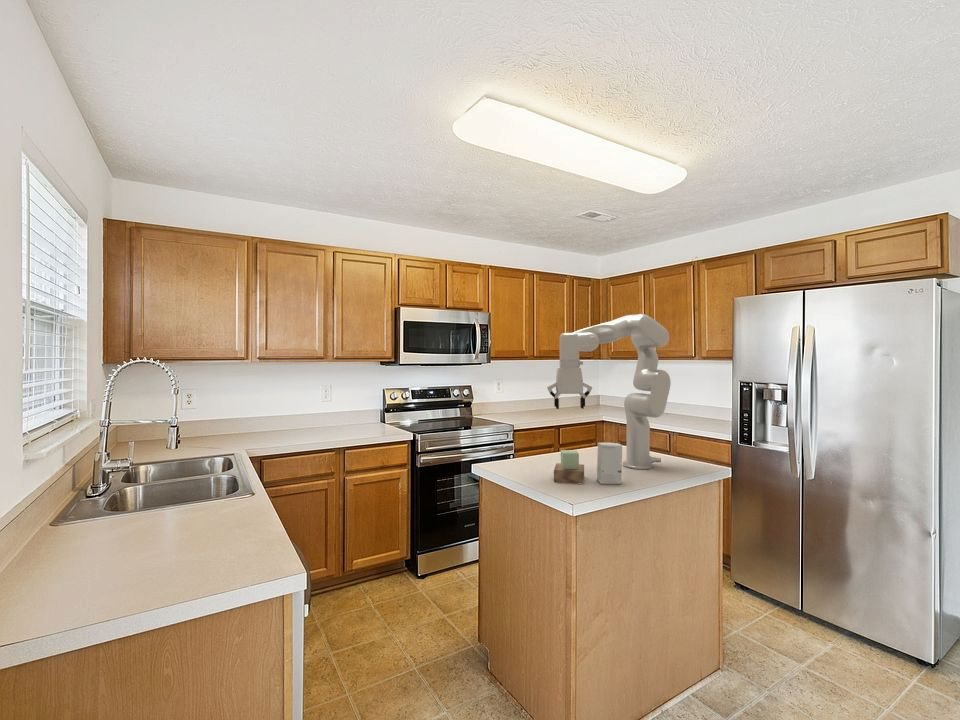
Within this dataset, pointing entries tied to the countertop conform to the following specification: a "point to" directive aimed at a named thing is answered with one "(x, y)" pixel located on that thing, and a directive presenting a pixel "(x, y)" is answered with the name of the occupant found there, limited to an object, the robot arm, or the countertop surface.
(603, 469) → the skincare box
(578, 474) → the walnut block
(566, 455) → the sage cube
